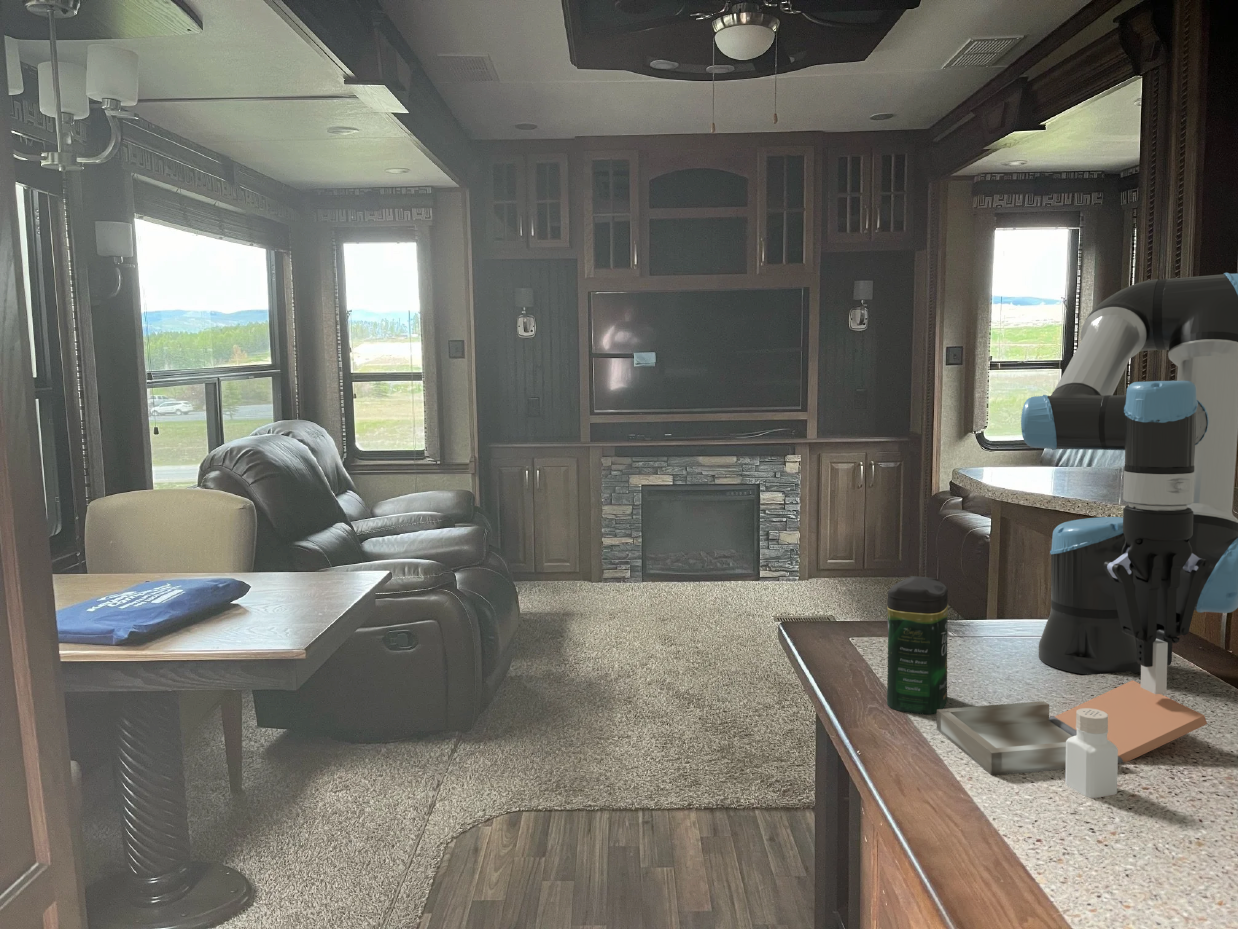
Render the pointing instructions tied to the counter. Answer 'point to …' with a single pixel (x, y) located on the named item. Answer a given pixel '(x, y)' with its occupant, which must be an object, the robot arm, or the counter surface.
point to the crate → (1006, 737)
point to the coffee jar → (917, 645)
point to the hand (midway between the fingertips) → (1153, 690)
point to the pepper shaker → (1091, 756)
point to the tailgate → (1136, 719)
